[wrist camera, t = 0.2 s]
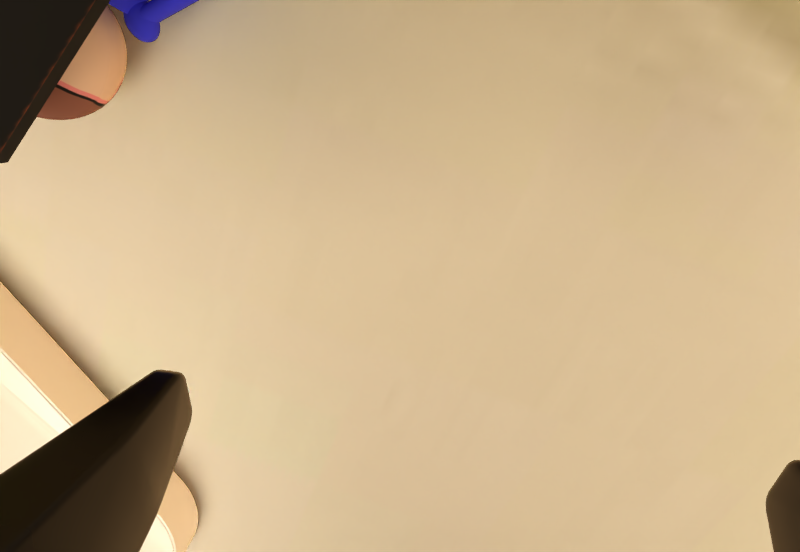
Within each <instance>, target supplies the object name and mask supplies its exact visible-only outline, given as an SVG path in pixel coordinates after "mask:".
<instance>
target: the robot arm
mask: <svg viewBox="0 0 800 552" xmlns="http://www.w3.org/2000/svg"><path fill="white" fill-rule="evenodd" d="M191 416H192V407H191V402H190V398H189V393H188V388H187V383H186V379H185V377H184V375H183V374H182V373H179V372H173V371H166V370H156V371H153V372H152V373H150V374H148V375H147V376H145V377H144V378H143V379H141V380H140V381H138V382H137V383H135V384H134V385H132V386H131V387H129V388H128V389H126V390H125V391H123V392H122V393H120V394H119V395H117V396H116V397H114V398H113V399H111V400H110V401H108V402H107V403H105V404H104V405H102V406H101V407H99V408H98V409H96V410H95V411H93V412H92V413H90V414H89V415H87V416H86V417H84V418H83V419H81V420H80V421H79V422H77V423H76V424H74V425H73V426H71V427H70V428H68V429H67V430H65V431H64V432H62V433H61V434H59V435H58V436H56V437H55V438H53V439H52V440H50V441H49V442H47V443H46V444H44V445H43V446H41V447H40V448H38V449H37V450H35V451H34V452H32V453H31V454H29V455H28V456H26V457H25V458H23V459H22V460H20V461H19V462H17V463H16V464H15V465H13V466H12V467H10V468H9V469H7V470H6V471H4V472H3V473H1V474H0V552H139V551H140V549H141V547H142V545H143V543H144V541H145V539H146V537H147V535H148V533H149V531H150V529H151V526H152V524H153V522H154V520H155V518H156V515H157V513H158V510H159V508H160V505H161V503H162V500H163V497H164V495H165V492H166V489H167V486H168V484H169V481H170V478H171V475H172V472H173V470H174V467H175V464H176V461H177V458H178V456H179V453H180V450H181V447H182V445H183V442H184V439H185V436H186V433H187V431H188V428H189V425H190V422H191ZM766 512H767V517H768V522H769V528H770V533H771V538H772V544H773V549H774V552H800V460H794V461H792V462H790V463H788V465H787V466H786V467H785V469H784V470H783V472H782V473H781V475H780V476H779V477H778V479H777V480H776V482H775V483H774V485H773V486H772V488H771V489H770V491H769V493H768V495H767V498H766Z"/></svg>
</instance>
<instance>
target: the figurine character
mask: <svg viewBox="0 0 800 552" xmlns="http://www.w3.org/2000/svg"><path fill="white" fill-rule="evenodd" d="M148 1H149V0H0V163H5V162H8V161H9V159H10V158H11V156H12V155H13V153H14V151H15V150H16V148H17V147H18V145H19V144H20V142H21V140H22V139H23V137H24V136H25V134H26V132H27V131H28V129H29V128H30V126H31V125H32V123H33V121H34V120H35V118H36V117H40V118H45V119H53V120H67V119H75V118H79V117H83V116H86V115H88V114H91V113H93V112H95V111H97V110H99V109H100V108H102V107H103V106H104V105H105V104H107V103H108V102H109V101H110V100H111V99H112V98H113V97H114V95H115V94H116V92H117V91H118V90H119V88H120V86H121V84H122V81H123V79H124V76H125V72H126V66H127V49H126V43H125V39H124V36H123V32H122V30H121V27H120V25H119V23H118V21H117V19H116V17H115V16H114V14H113V12H112V11H111V10H110V8H109V7H108V6H107V5H108V3H109V4H110V5H112V6H113V7H115V8H117V9H118V10H120V11H122V12H123V15H124V20H125V23H126V26H127V27H128V29H129V31H130V32H131V33H132V34H133V35H134V36H135V37H136V38H137V39H139V40H141V41H143V42H153V41H155V40H156V39H157V38H158V36H159V33H160V23H159V22H161V21H162V20H164V19H166V18H168V17H170V16H171V15H173V14H175V13H177V12H179V11H180V10H182V9H184V8H186V7H188V6H189V5H191V4H193V3H195V2H196V1H198V0H151V1H149V2H148ZM147 2H148V3H147Z"/></svg>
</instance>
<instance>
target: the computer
mask: <svg viewBox="0 0 800 552" xmlns="http://www.w3.org/2000/svg"><path fill="white" fill-rule="evenodd" d="M108 401H109V400H108V399H107V398H106V397H105V396H104V394H103V393H102V392H101V391H100V390H99V389H98V388H97V387H96V386H95V385H94V383H93V382H92V381H91V380H90V379H89V378H88V377H87V376H86V375H85V374H84V373H83V371H82V370H81V369H80V368H79V367H78V366H77V365H76V364H75V363H74V362H73V361H72V359H71V358H70V357H69V356H68V355H67V354H66V353H65V352H64V351H63V350H62V348H61V347H60V346H59V345H58V344H57V343H56V342H55V341H54V340H53V339H52V338H51V336H50V335H49V334H48V333H47V332H46V331H45V330H44V329H43V328H42V327H41V325H40V324H39V323H38V322H37V321H36V320H35V319H34V318H33V317H32V316H31V315H30V313H29V312H28V311H27V310H26V309H25V308H24V307H23V306H22V305H21V304H20V303H19V301H18V300H17V299H16V298H15V297H14V296H13V295H12V294H11V293H10V292H9V290H8V289H7V288H6V287H5V286H4V285H3V284H2V283H1V282H0V474H1V473H3V472H4V471H6V470H7V469H9V468H10V467H12V466H13V465H15V464H16V463H17V462H19V461H20V460H22V459H23V458H25V457H26V456H28V455H29V454H31V453H32V452H34V451H35V450H37V449H38V448H40V447H41V446H43V445H44V444H46V443H47V442H49V441H50V440H52V439H53V438H55V437H56V436H58V435H59V434H61V433H62V432H64V431H65V430H67V429H68V428H70V427H71V426H73V425H74V424H76V423H77V422H79V421H80V420H81V419H83V418H84V417H86V416H87V415H89V414H90V413H92V412H93V411H95V410H96V409H98V408H99V407H101V406H102V405H104V404H105V403H107V402H108ZM197 525H198V511H197V507H196V503H195V500H194V498H193V496H192V494H191V492H190V490H189V489H188V487H187V486H186V485H185V483H184V482H183V481H182V480H181V479H180V478H179V476H178V475H177V474H176V473H175V472H174V471H173V472H172V475H171V478H170V481H169V484H168V486H167V489H166V492H165V495H164V497H163V500H162V503H161V505H160V508H159V510H158V513H157V515H156V518H155V520H154V522H153V524H152V526H151V529H150V531H149V533H148V535H147V537H146V539H145V541H144V543H143V545H142V547H141V549H140V551H139V552H185V551H186V550H187V548H188V546H189V544H190V543H191V541H192V539H193V537H194V535H195V533H196V530H197Z"/></svg>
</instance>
